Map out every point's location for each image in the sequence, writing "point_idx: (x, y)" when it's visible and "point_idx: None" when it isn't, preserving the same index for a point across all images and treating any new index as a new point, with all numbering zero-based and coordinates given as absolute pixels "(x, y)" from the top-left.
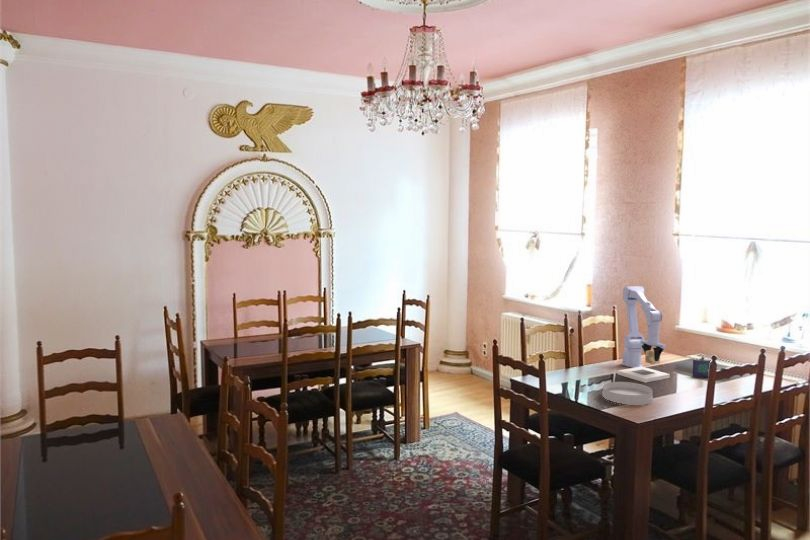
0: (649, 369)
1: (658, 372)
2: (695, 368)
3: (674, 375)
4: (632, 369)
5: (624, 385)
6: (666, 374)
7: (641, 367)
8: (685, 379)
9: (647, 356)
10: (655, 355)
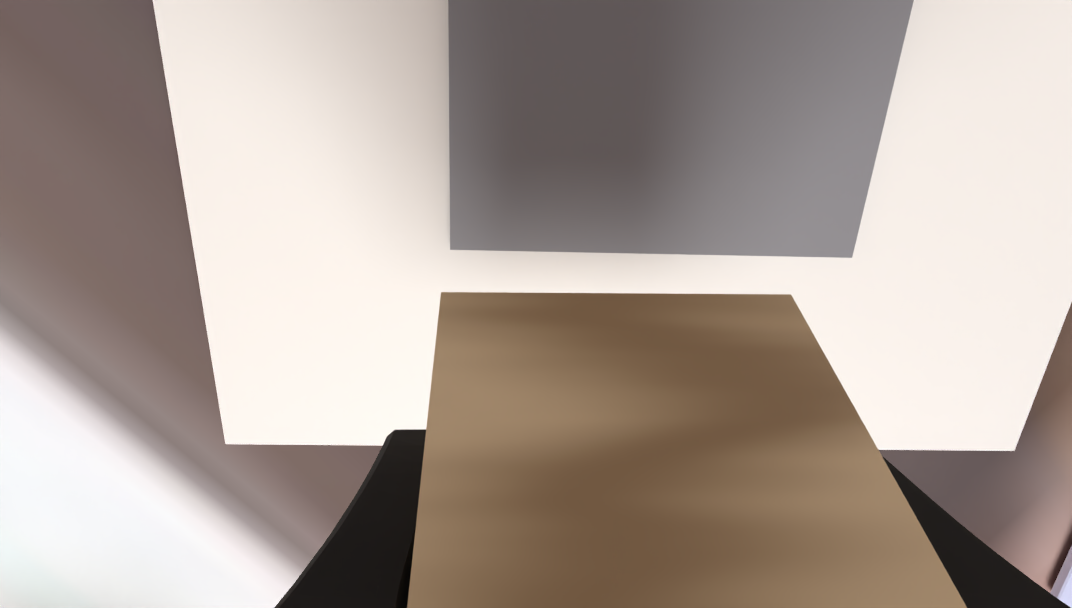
0: None
1: None
2: None
3: None
4: (1055, 36)
5: None
6: (234, 370)
7: (973, 381)
8: (52, 539)
9: (758, 438)
10: (340, 575)
